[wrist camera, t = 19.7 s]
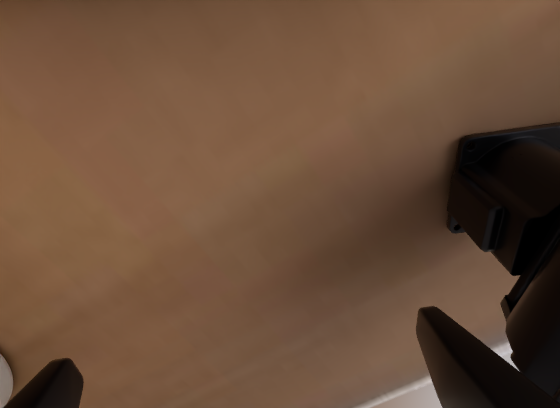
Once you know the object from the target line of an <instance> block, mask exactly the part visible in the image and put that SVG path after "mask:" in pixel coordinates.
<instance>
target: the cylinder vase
mask: <svg viewBox="0 0 560 408" xmlns="http://www.w3.org/2000/svg"><path fill="white" fill-rule="evenodd" d="M12 389H13V376H12V372H11V369H10V367H9V365H8V363H7V362H6V360H5V359H4V357H3V356H2V355H1V354H0V408H3V407H4V406H5V405H6V404H7V402H8V400H9V398H10V396H11V393H12Z"/></svg>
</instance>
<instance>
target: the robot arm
mask: <svg viewBox="0 0 560 408" xmlns="http://www.w3.org/2000/svg"><path fill="white" fill-rule="evenodd" d="M470 142H472V144H471V146H470V147H468V148H467V145H468V144H469V143H470ZM447 211H448V212H449V213H448V220H447V227H448V229H449V230H450V231H451V232H452V233H463V232H466V233H467V234H468V235H469V236H470V238H471V239H472V240H473V241H474V242H475V243H476V245H477V246H478V247H479V248H480V249H481V250H483V251H484V252H489V251H490V252H491V253H492V254H493V255H494V256H495V257H496V258H497V259H498V260H499V262H500V263H501V264H502V265H503V266H504V267H505V268H506V269H507V271H508V272H509V273H510V274H511V275H512V276H517V275H520V277H519V279H518V280H517V282H516V283H515V285H514V286H513V288H512V290H511V291H510V293H509V294H508V295H505V297H504V298H503V300H502V301H501V307H502V310H503V313H504V316H505V319H506V322H507V323H506V334H507V337H508V340H509V343H510V346H511V349H512V350H513V352H512V354H511V360H512V361H513V363H514V364H515V366H516V367H517V368H518V370H519V371H520V372H519V371H518V370H517V369H516V368H514V367H513V366H512V365H510V364H509V363H508V362H507V361H505V360H504V359H503V358H501V357H500V356H499V355H498V354H496V353H495V352H494V351H492V350H491V349H490V348H489V347H487V346H486V345H485V344H483V343H482V342H481V341H480V340H478V339H477V338H476V337H475V336H473V335H472V334H471V333H469V332H468V331H467V330H466V329H464V328H463V327H462V326H460V325H459V324H458V323H457V322H455V321H454V320H453V319H451V318H450V317H449V316H448V315H446V314H445V313H444V312H442V311H441V310H440V309H439V308H437V307H435V306H431V307H424V308H420V309H419V311H418V317H417V325H416V334H417V338H418V341H419V344H420V347H421V350H422V353H423V356H424V359H425V361H426V364H427V367H428V370H429V373H430V376H431V379H432V382H433V385H434V387H435V390H436V393H437V396H438V398H439V400H440V403H441V405H442V407H443V408H560V123H553V124H546V125H539V126H531V127H524V128H517V129H510V130H503V131H495V132H488V133H481V134H474V135H468V136H465V137H464V138H462V139H461V141H460V143H459V147H458V153H457V160H456V167H455V172H454V174H453V175H452V178H451V185H450V192H449V199H448V206H447ZM456 224H458V225H457V226H455V225H456ZM454 226H455V227H454ZM83 383H84V382H83V376H82V375H81V373H80V372H79V370H78V368H77V367H76V365H75V364H74V362H73V361H72V360H71V359H70V358H62V359H56V360H53V361H51V362H49V363H48V364H47V365H46V366H45V367H44V368H43V369H42V370H41V371H40V372H39V373H38V374H37V375H36V376H35V377H34V378H33V379H32V380H31V381H30V382H29V383H28V384H27V385H26V386H25V387H24V388H23V389H22V390H20V391H19V392H18V393H17V394H16V395H15V396H14V397H13V398H12V399H11V400H10V401H9V402H8V403H7V404H6V405H5V406H4V407H3V408H79V405H80V400H81V395H82V390H83Z"/></svg>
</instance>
